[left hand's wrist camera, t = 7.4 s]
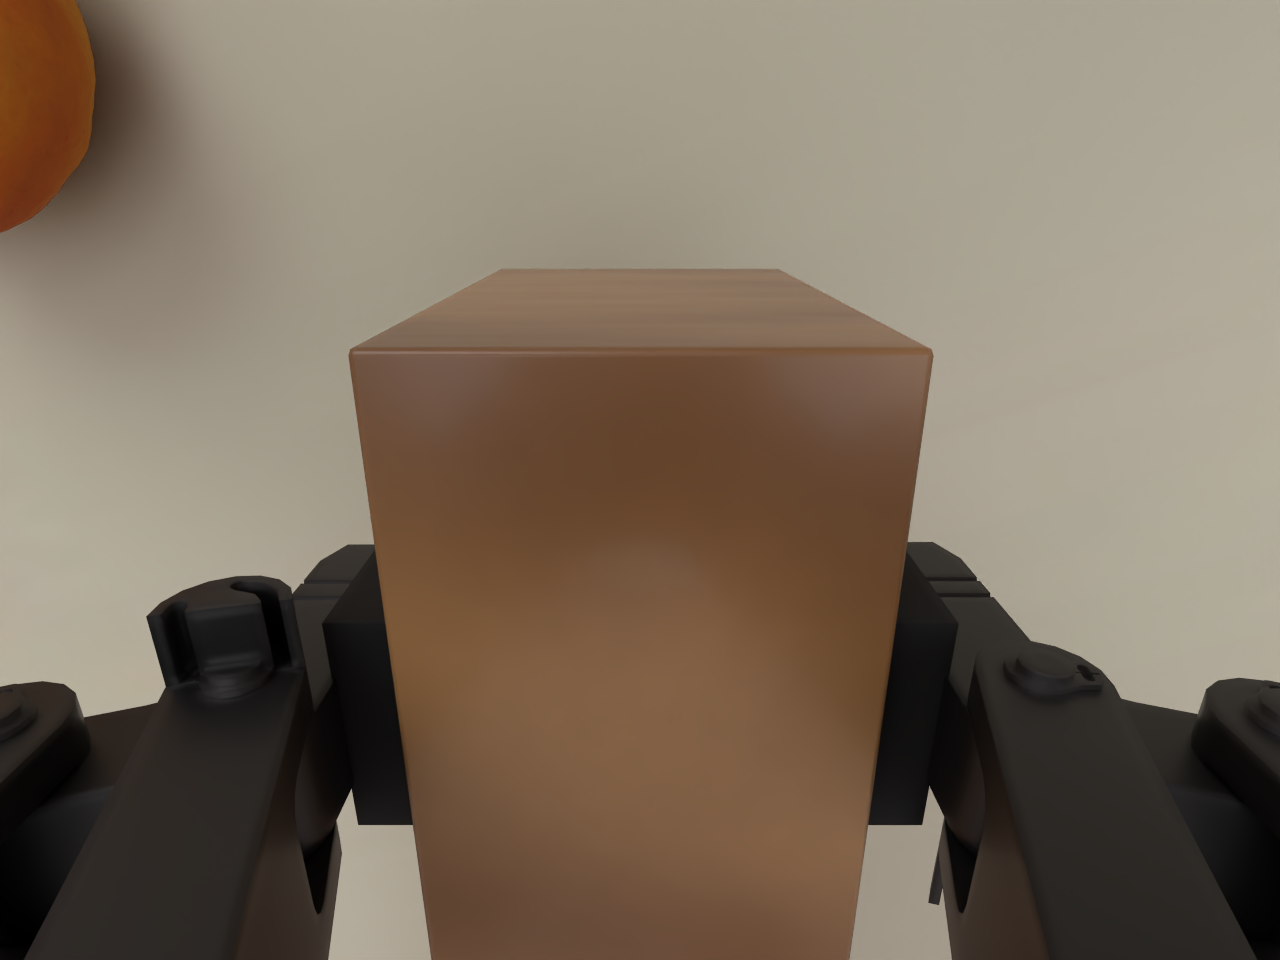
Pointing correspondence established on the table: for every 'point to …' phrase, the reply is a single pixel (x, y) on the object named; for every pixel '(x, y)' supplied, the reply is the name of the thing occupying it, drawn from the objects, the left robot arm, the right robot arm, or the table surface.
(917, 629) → the left robot arm
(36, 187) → the fruit
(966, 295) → the table surface
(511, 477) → the beam
